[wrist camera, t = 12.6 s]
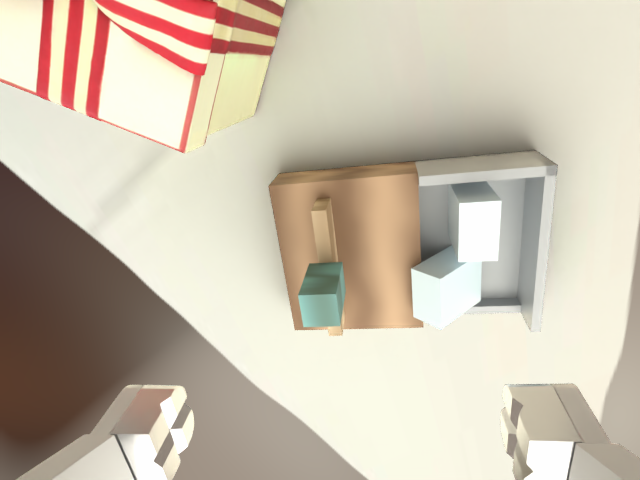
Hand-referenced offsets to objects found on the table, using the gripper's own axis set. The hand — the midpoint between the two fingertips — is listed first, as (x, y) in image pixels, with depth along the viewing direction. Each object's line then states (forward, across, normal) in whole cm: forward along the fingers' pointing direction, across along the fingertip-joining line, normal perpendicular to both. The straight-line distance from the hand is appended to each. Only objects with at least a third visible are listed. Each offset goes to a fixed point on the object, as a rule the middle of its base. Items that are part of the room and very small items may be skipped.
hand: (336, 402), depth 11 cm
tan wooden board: (+29, +2, +9) cm, 31 cm away
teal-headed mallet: (+25, +3, +9) cm, 27 cm away
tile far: (+26, -6, +12) cm, 30 cm away
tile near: (+26, -7, +6) cm, 27 cm away
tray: (+29, -10, +9) cm, 32 cm away
